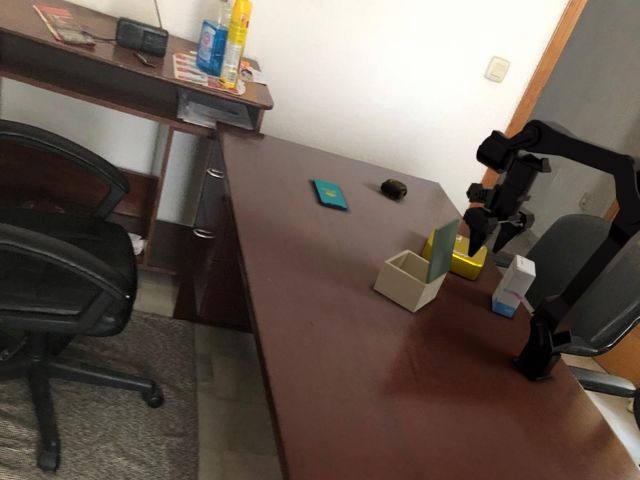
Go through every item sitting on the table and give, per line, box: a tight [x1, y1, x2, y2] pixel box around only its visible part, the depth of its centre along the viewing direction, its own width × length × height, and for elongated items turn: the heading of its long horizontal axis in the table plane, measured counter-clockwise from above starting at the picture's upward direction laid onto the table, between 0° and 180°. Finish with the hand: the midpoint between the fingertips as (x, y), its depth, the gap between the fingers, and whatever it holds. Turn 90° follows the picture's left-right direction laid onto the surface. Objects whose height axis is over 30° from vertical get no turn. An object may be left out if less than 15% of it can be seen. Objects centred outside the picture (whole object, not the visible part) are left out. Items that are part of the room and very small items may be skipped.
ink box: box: [491, 254, 537, 319], centre depth 154 cm, size 9×5×12 cm, turn 168°
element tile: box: [421, 225, 488, 281], centre depth 168 cm, size 15×15×5 cm
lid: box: [425, 217, 461, 284], centre depth 138 cm, size 11×12×1 cm
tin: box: [373, 249, 447, 314], centre depth 145 cm, size 11×12×7 cm
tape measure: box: [380, 178, 408, 201], centre depth 190 cm, size 7×7×4 cm
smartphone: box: [312, 178, 348, 211], centre depth 176 cm, size 7×1×15 cm
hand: (482, 254), depth 141 cm, fingers open, 9 cm apart
